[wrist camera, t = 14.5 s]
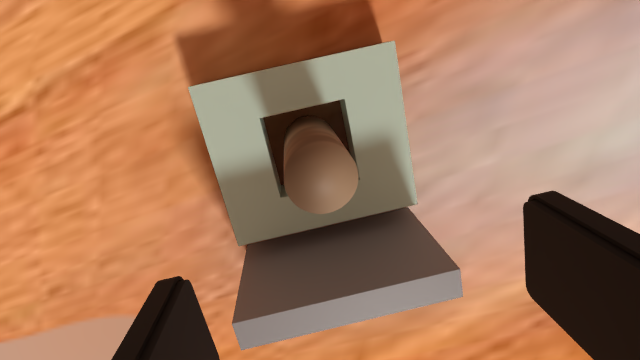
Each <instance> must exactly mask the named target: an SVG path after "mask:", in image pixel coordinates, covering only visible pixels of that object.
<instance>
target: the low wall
mask: <svg viewBox="0 0 640 360" xmlns="http://www.w3.org/2000/svg"><path fill="white" fill-rule="evenodd" d="M460 297H463V291H462V282H461V272H460V268H459V267H458V266H457V265H456V264H455V262H454V261H453V260H452V259H451V258H450V257H449V255H448V254H447V253H446V252H445V251H444V249H443V248H442V247H441V246H440V245H439V244H438V242H437V241H436V240H435V239H434V238H433V237H432V235H431V234H430V233H429V232H428V231H427V229H426V228H425V227H424V226H423V225H422V224H421V222H420V221H419V220H418V219H417V218H416V216H415V215H414V214H413V213H412V212H411V211H410V209H409V208H408V207H407V208H403V209H399V210H394V211H390V212H386V213H382V214H377V215H373V216H369V217H365V218H360V219H356V220H352V221H348V222H343V223H339V224H335V225H331V226H326V227H322V228H318V229H314V230H309V231H305V232H301V233H297V234H292V235H288V236H284V237H280V238H275V239H271V240H267V241H263V242H258V243H254V244H250V245H247V250H246V255H245V260H244V265H243V270H242V276H241V281H240V286H239V291H238V296H237V301H236V306H235V311H234V316H233V321H232V325H233V328H234V331H235V334H236V337H237V340H238V343H239V345H240V348H241V350H245V349H249V348H253V347H257V346H261V345H265V344H269V343H274V342H278V341H282V340H286V339H290V338H294V337H298V336H303V335H307V334H311V333H315V332H319V331H323V330H327V329H332V328H336V327H340V326H344V325H348V324H352V323H356V322H360V321H365V320H369V319H373V318H377V317H381V316H385V315H389V314H394V313H398V312H402V311H406V310H410V309H414V308H418V307H423V306H427V305H431V304H435V303H439V302H443V301H447V300H452V299H456V298H460Z"/></svg>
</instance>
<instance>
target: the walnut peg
mask: <svg viewBox="0 0 640 360" xmlns="http://www.w3.org/2000/svg"><path fill="white" fill-rule="evenodd" d="M357 185H358V170H357V166H356V164H355V161H354V160H353V158H352V157H351V155H350V154H349V152H348V151H347V149H346V148H345V147H344V145H343V144H342V142H341V141H340V140H339V138H338V137H337V135H336V134H335V132H334V131H333V130H332V128H331V127H330V125H329V124H328V123H327V122H326V121H324V120H323V119H321V118H319V117H316V116H303V117H300V118H298V119H296V120H294V121H293V122H292V123H291V124H290V125H289V126H288V128H287V130H286V132H285V135H284V186H285V190H286V193H287V195H288V197H289V198H290V199H291V201H292V202H293V203H294V204H295V205H296V206H297V207H299V208H300V209H302V210H304V211H307V212H310V213H314V214H326V213H330V212H334V211H336V210H338V209H340V208H342V207H343V206H344V205H346V204H347V203H348V202H349V201H350V199H351V198H352V197H353V195H354V193H355V191H356V188H357Z"/></svg>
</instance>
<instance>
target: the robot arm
mask: <svg viewBox="0 0 640 360" xmlns="http://www.w3.org/2000/svg"><path fill="white" fill-rule="evenodd" d="M523 216H524V245H525V275H526V288H527V291H528V293H529V295H530V296H531V297H532V299H533V300H534V301H535V302H536V303H537V304H538V305H539V306H540V307H541V308H542V309H543V310H544V311H545V312H546V313H547V314H548V315H549V316H550V317H551V318H552V319H553V320H554V321H555V322H556V323H557V324H558V325H559V326H560V327H561V328H562V329H563V330H564V331H565V332H566V333H567V334H568V335H569V336H570V337H571V338H572V339H573V340H574V341H576V342H577V343H578V344H579V345H580V346H581V347H582V348H583V349H584V350H585V351H586V352H587V353H588V354H589V355H590V356H591V357H592V358H593V359H594V360H640V234H638V233H636V232H634V231H632V230H630V229H628V228H627V227H625V226H623V225H621V224H619V223H617V222H615V221H613V220H611V219H609V218H607V217H605V216H603V215H601V214H599V213H597V212H595V211H593V210H591V209H589V208H587V207H585V206H583V205H581V204H579V203H577V202H575V201H574V200H572V199H570V198H568V197H566V196H564V195H562V194H560V193H558V192H556V191H549V192H545V193H540V194H536V195H532V196H530V197H529V199H528V202H525V203H524V206H523ZM112 360H220V359H219V355H218V352H217V350H216V347H215V345H214V342H213V339H212V337H211V334H210V331H209V329H208V326H207V324H206V321H205V318H204V316H203V313H202V311H201V308H200V305H199V303H198V300H197V298H196V295H195V292H194V290H193V287H192V285H191V282H190V281H189V280H183V278H182V277H180V276H177V277H173V278H169V279H164V280H160V281H158V282H157V283H156V284H155V286H154V288H153V289H152V291H151V293H150V294H149V296H148V298H147V300H146V301H145V303H144V305H143V306H142V308H141V310H140V312H139V313H138V315H137V317H136V318H135V320H134V322H133V324H132V325H131V327H130V329H129V331H128V332H127V334H126V336H125V337H124V339H123V341H122V343H121V344H120V346H119V348H118V349H117V351H116V353H115V355H114V356H113V358H112Z"/></svg>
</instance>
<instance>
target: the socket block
mask: <svg viewBox="0 0 640 360" xmlns="http://www.w3.org/2000/svg"><path fill="white" fill-rule="evenodd" d="M188 89H189V92H190V95H191V98H192V101H193V105H194V108H195V111H196V114H197V117H198V120H199V123H200V127H201V130H202V133H203V136H204V139H205V142H206V145H207V149H208V152H209V155H210V158H211V161H212V164H213V167H214V171H215V174H216V177H217V180H218V183H219V186H220V190H221V193H222V196H223V199H224V202H225V205H226V208H227V212H228V215H229V218H230V221H231V224H232V227H233V230H234V234H235V237H236V240H237V243H238V246H242V245H246V244H250V243H255V242H259V241H263V240H267V239H272V238H276V237H280V236H284V235H289V234H293V233H297V232H301V231H306V230H310V229H314V228H318V227H323V226H327V225H331V224H335V223H340V222H344V221H348V220H352V219H357V218H361V217H365V216H369V215H374V214H378V213H382V212H386V211H391V210H395V209H399V208H403V207H408V206H412V205H416V204H417V197H416V190H415V183H414V176H413V168H412V161H411V154H410V147H409V140H408V132H407V125H406V118H405V111H404V104H403V96H402V89H401V82H400V75H399V68H398V60H397V53H396V46H395V41H390V42H385V43H380V44H376V45H371V46H367V47H362V48H358V49H353V50H349V51H344V52H340V53H336V54H331V55H327V56H322V57H318V58H313V59H309V60H304V61H300V62H295V63H291V64H287V65H282V66H278V67H273V68H269V69H264V70H260V71H255V72H251V73H247V74H242V75H238V76H233V77H229V78H224V79H220V80H215V81H211V82H207V83H202V84H198V85H194V86H190V87H188ZM338 100H340V105H341V110H342V115H343V120H344V126H345V131H346V136H347V141H348V146H349V152H350V155H351V157H352V158H353V160H354V161H355V164H356V166H357V170H358V185H357V188H356V191H355V193H354V195H353V197H352V198H351V199H350V201H349V202H348V203H347V204H346V205H344V206H343V207H342V208H340V209H338V210H336V211H334V212H330V213H326V214H314V213H310V212H307V211H304V210H302V209H300V208H299V207H297V206H296V205H295V204H294V203H293V202H292V201H291V199H290V198H289V197H288V195H287V193H286V190H285V186H284V185H281V184H280V180H279V176H278V172H277V169H276V165H275V161H274V157H273V153H272V150H271V146H270V142H269V138H268V134H267V130H266V127H265V123H264V119H263V117H267V116H272V115H276V114H280V113H285V112H289V111H294V110H298V109H302V108H307V107H311V106H316V105H320V104H324V103H329V102H333V101H338Z"/></svg>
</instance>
